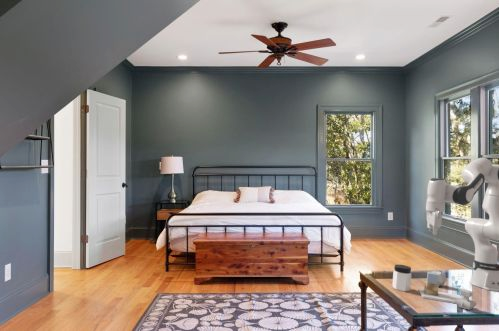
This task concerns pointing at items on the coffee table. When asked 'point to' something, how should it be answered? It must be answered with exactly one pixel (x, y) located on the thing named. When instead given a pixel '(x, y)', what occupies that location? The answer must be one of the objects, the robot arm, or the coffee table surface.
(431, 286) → the block oak
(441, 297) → the board
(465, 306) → the stamp
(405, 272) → the jar
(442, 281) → the die
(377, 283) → the coffee table surface
